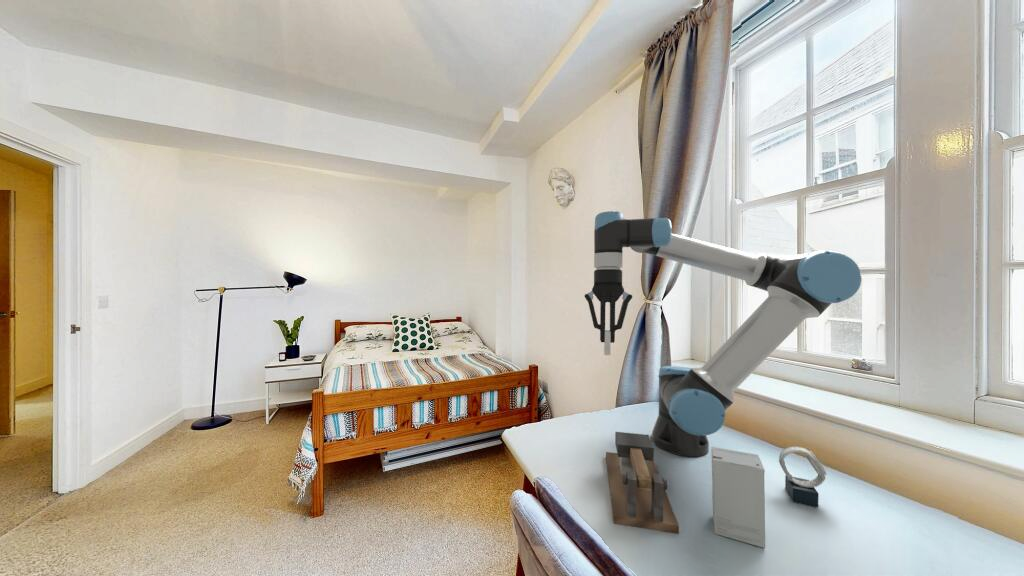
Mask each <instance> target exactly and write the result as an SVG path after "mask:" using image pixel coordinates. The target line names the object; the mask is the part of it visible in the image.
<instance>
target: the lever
mask: <svg viewBox="0 0 1024 576" xmlns="http://www.w3.org/2000/svg"><path fill="white" fill-rule="evenodd" d="M614 437H615V440H614V441H615V449H616V453H617V455H618V457H624V458H631V461H632V465H633V469H634V473H635V476H636V481H637V485H638V488H639V489H643V490H650V491H651V489H652V480H651V476H650V474H649V471H648V468H647V465H646V462H645V460H650V461H654V462H655V460H654V459H655V458H654V456H655V455H654V454H655V452H654V450H655V449H654V445H653V444H652V440H651V438H650V436H649V434H644V433H643V434H641V433H633V432H632V433H631V432H621V431H615V436H614Z"/></svg>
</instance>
